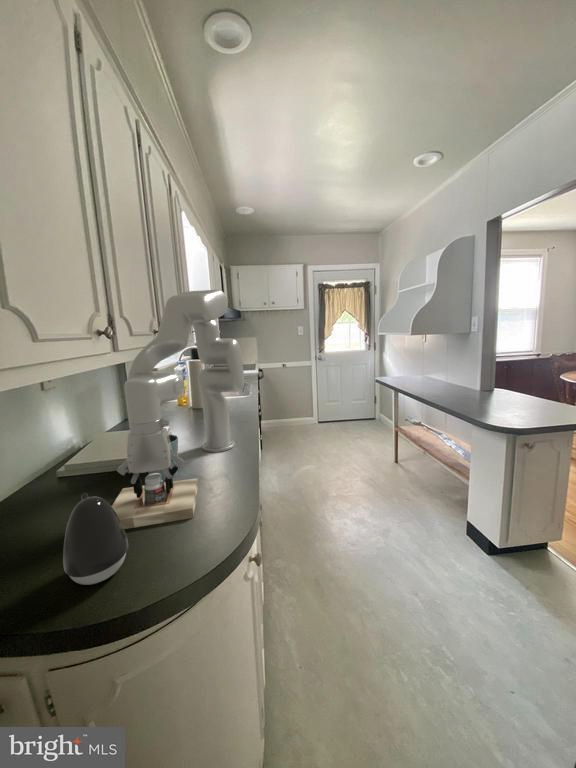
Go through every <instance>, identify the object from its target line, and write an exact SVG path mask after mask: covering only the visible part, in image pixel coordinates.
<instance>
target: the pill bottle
mask: <svg viewBox="0 0 576 768" xmlns="http://www.w3.org/2000/svg"><path fill="white" fill-rule="evenodd" d="M164 483H165V481H162V475H161V474H160V473H153V474H150V475H149V474H147V475H146V476H145V478H144V485H143V486H144V489H145V497H146V502H145V505H149V504H156V503H162V502H167V499H166V496H165V487H164Z"/></svg>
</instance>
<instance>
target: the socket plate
mask: <svg viewBox="0 0 576 768" xmlns="http://www.w3.org/2000/svg"><path fill="white" fill-rule="evenodd" d="M144 486H145V485H142V488H143V493H142V495H141V497H140V498H137V495H136V494H134V487H133V486H131V487H124V488H122V489H121V491H120V492H119V494H118V496H117V497H116V498H115V499H114V502H113V503H112V505H111V506H112V508H113V509H114V510H115V512H116V514H117V516H118V517H119V519H120V521H121V523H122V525H123V528H124V530H128V529H134V528H140V527H146V526H152V525H157V524H163V523H170V522H176V521H182V520H188V519H193V518H194V517H195V510H196V503H197V495H198V488H199V482H198V477H196V478H191V479H183V480H175V481H174V480H173V488H172V489H171V491H170V493H169V494H167V492H166V484H165V482H164V487H165V496H166V502H162V503H156V504H149V505H146V497H145V489H144Z"/></svg>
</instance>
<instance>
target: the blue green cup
mask: <svg viewBox="0 0 576 768" xmlns="http://www.w3.org/2000/svg"><path fill="white" fill-rule="evenodd" d="M169 438H170V442H171V448H172V453H174V454H176V455H177V456H179V454H178V453H179V452H178V451H179V437H178V436H177V435H175V434H169ZM175 464H176V462H174V461H172V462H171V466H170V467H171V468H173V466H174V465H175ZM153 473H160V474H161V475H162V481H163V482H165V479H166V475H165V474H164V472H163V471H162V470H159V471H151V472H148V475H150V474H153ZM178 474H179V469H178V470H177V472H176V473H175V474H174V475H173V476H172V478H173V477H174V478H175V477H176V475H178ZM174 478H173V479H174Z"/></svg>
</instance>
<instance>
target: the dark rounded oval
mask: <svg viewBox="0 0 576 768" xmlns="http://www.w3.org/2000/svg"><path fill="white" fill-rule="evenodd" d="M80 498H81V500H80V501H78V503H77V504H76V505H75V506H74V508H73V509H72V511H71V512H70V513H71V514H70V516H69V519H68V522H67V524H66V529H65V535H64V541H63V552H62V553H63V554H62V555H63V556H62V557H63V559H62V562H63V569H64V572H65V574H67V575H68V576H69V578H70V579H71V580H72V581H73V582H75V583H77V584H79V585H83V586H85V585H88V586H90V585H95V584H99V583H102V582H103V581H105V580H107V579H109V578H110V577H112V576H113V575H114V574H116V573H117V571H118V570H120V568H121V566H122V565H123V563H124V561H125V559H126V555H127V551H128V550H129V549H128V548H129V542H128V536H127V534H126V531H125V530H126V529H124V528H123V525H122V523H121V521H120V519H119V517H118V516H117V514H116V512H115V510H114V509H113V508H112V505H111V504H110V503H109V502H108V501H107V500H106V499H104V498H102V497H100V496H89V494H88V493H87V492H83V493H82V494H81V495H80Z"/></svg>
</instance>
